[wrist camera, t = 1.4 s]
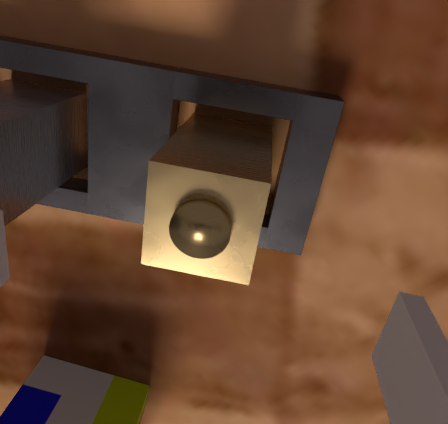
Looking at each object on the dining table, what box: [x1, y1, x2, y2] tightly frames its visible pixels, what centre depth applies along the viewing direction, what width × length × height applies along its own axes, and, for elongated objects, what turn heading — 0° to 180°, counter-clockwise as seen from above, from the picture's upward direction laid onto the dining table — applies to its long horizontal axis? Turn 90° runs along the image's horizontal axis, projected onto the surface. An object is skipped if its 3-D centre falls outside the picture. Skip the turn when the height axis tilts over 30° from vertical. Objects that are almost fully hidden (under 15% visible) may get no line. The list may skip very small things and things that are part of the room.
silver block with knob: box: [0, 79, 87, 227], centre depth 22 cm, size 5×5×10 cm
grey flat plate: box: [0, 36, 344, 255], centre depth 25 cm, size 24×10×2 cm, turn 81°
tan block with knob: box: [141, 113, 272, 285], centre depth 21 cm, size 5×5×10 cm
